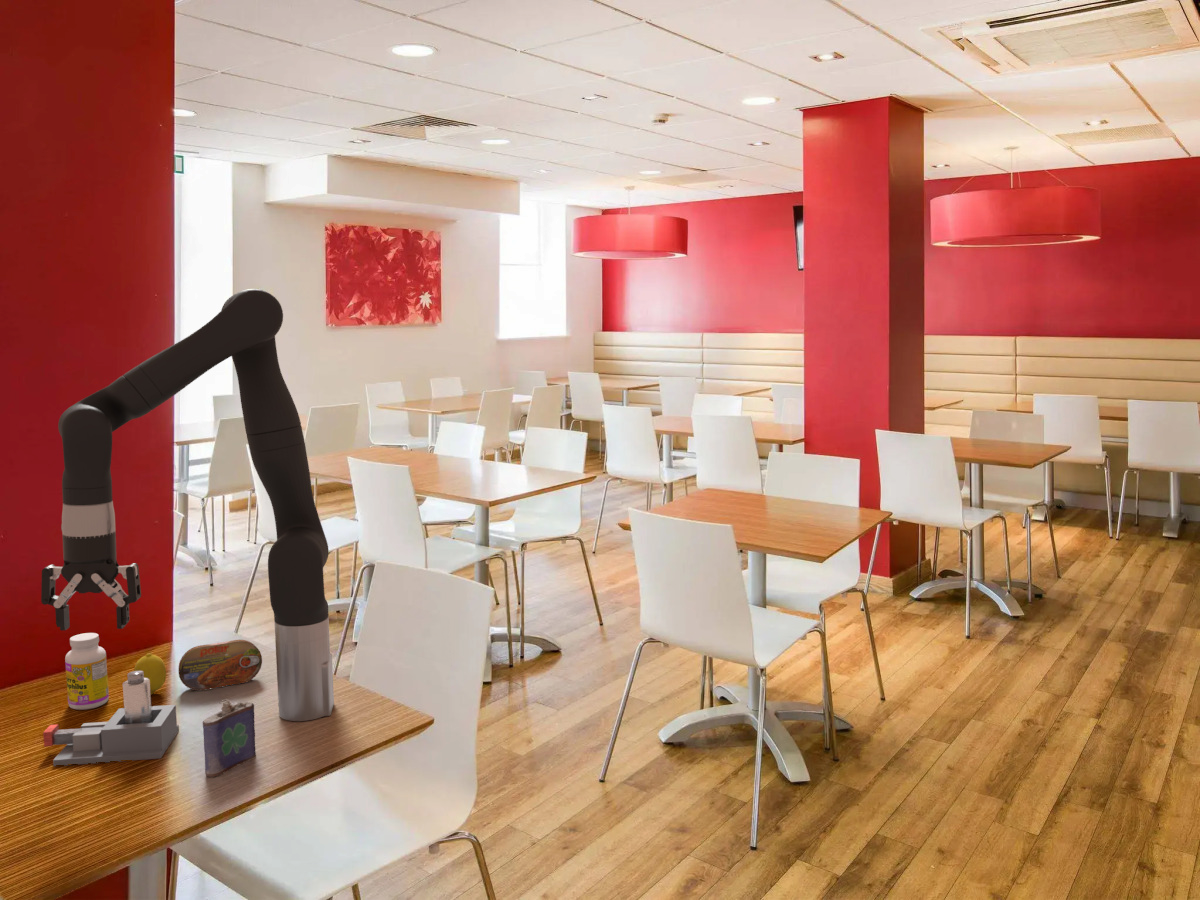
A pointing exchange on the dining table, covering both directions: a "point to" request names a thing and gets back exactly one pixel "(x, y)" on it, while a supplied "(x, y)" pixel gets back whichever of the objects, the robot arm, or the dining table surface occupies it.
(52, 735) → the lock pin
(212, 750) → the flask
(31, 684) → the dining table surface
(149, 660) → the lemon
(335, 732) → the dining table surface
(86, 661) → the supplement bottle
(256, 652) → the tin
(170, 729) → the mount
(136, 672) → the salt shaker
